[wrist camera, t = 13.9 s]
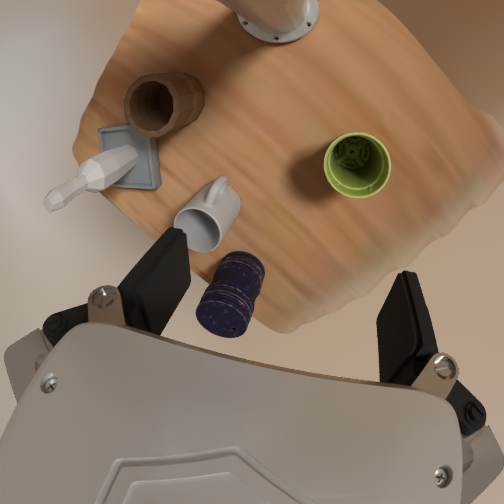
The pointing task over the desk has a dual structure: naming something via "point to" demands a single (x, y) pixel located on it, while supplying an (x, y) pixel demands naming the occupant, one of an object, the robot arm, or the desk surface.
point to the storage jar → (231, 295)
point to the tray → (147, 150)
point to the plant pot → (357, 165)
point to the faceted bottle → (94, 176)
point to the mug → (209, 215)
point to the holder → (147, 103)
